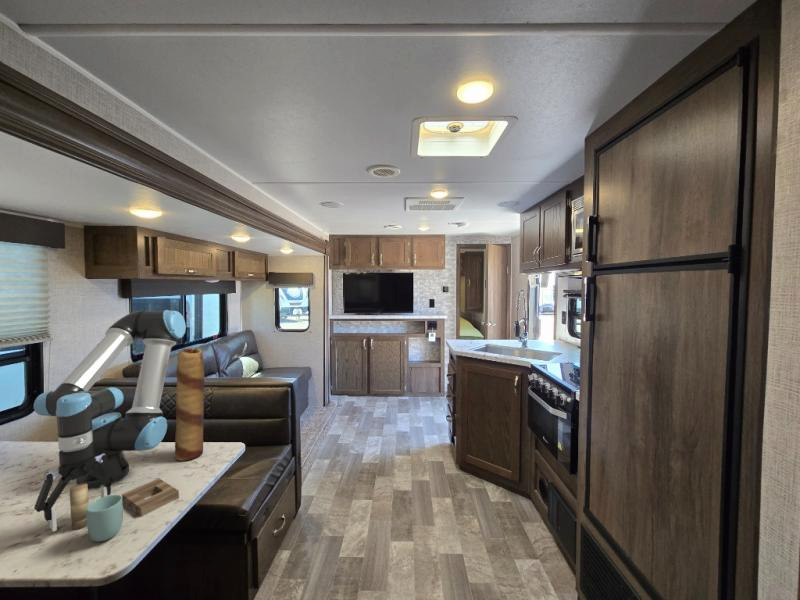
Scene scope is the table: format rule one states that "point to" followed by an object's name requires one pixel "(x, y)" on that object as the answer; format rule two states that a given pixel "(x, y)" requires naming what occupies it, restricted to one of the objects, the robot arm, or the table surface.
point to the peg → (79, 505)
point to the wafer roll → (189, 404)
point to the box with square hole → (147, 505)
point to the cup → (104, 517)
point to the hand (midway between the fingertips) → (80, 517)
